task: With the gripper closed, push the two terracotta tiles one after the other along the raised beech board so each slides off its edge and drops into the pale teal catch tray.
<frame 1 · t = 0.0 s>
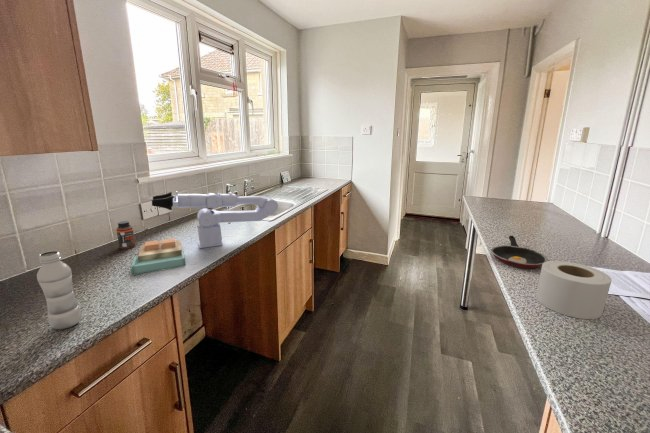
hand: (152, 200, 121), 22 cm above the table, tool horizontal, fingers open, 7 cm apart
frying pan: (514, 255, 124), on the table
board: (161, 253, 125), on the table
tile 2: (168, 243, 127), point 3 cm above the table, touching board
plastic bottle: (67, 325, 79), on the table
tray: (160, 264, 114), on the table
tile 1: (152, 245, 124), point 3 cm above the table, touching board
roll of tape: (566, 304, 89), on the table
supplement bottle: (127, 247, 132), on the table
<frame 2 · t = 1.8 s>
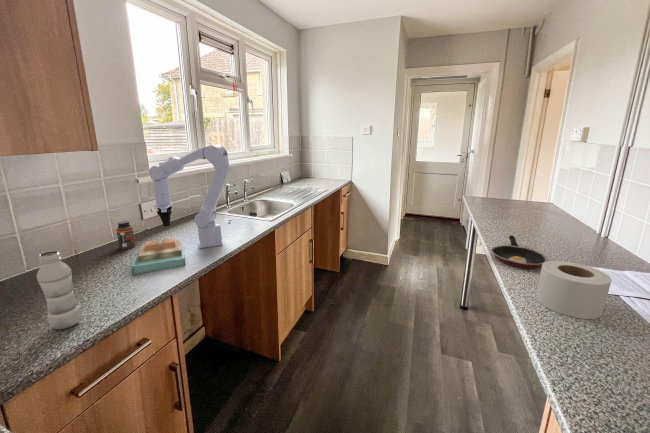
hand: (166, 224, 132), 9 cm above the table, tool pointing down, fingers open, 5 cm apart
nothing on the table moved.
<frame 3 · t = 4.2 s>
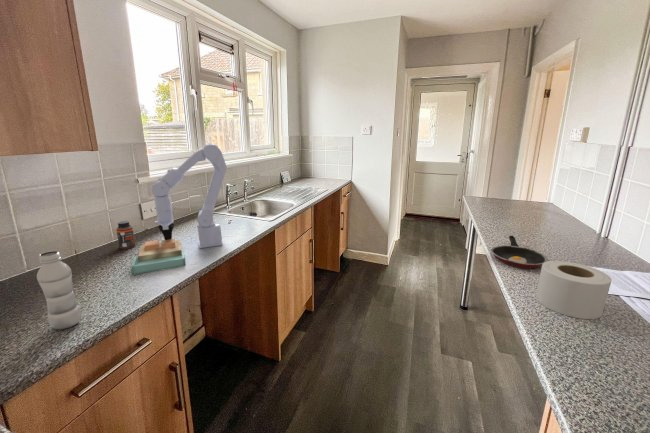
hand: (168, 241, 129), 3 cm above the table, tool pointing down, fingers closed
tile 2: (168, 243, 126), point 3 cm above the table, touching board, gripper
everything else where it was.
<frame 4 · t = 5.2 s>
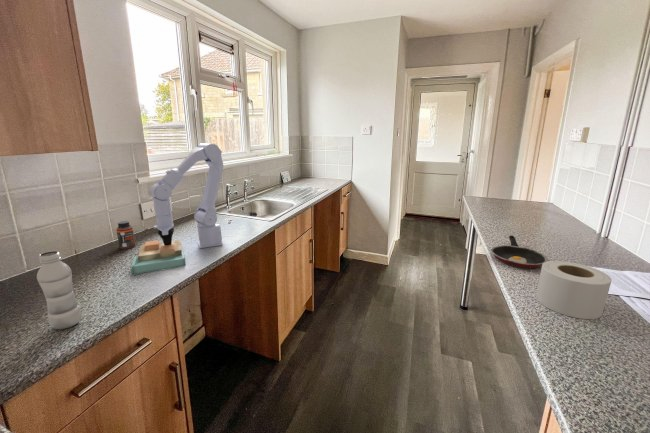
hand: (168, 246, 122), 4 cm above the table, tool pointing down, fingers closed
tile 2: (167, 249, 119), point 3 cm above the table, touching gripper
everything else where it was.
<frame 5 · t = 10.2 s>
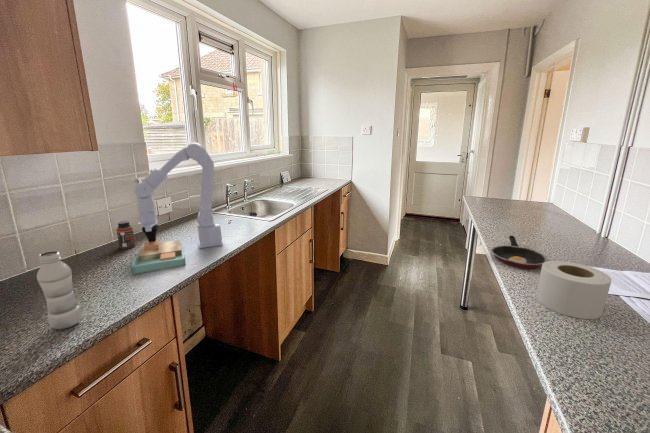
hand: (152, 243, 127), 4 cm above the table, tool pointing down, fingers closed
tile 2: (168, 257, 117), point 1 cm above the table, touching tray
tile 1: (152, 245, 124), point 4 cm above the table, touching board, gripper
everything else where it was.
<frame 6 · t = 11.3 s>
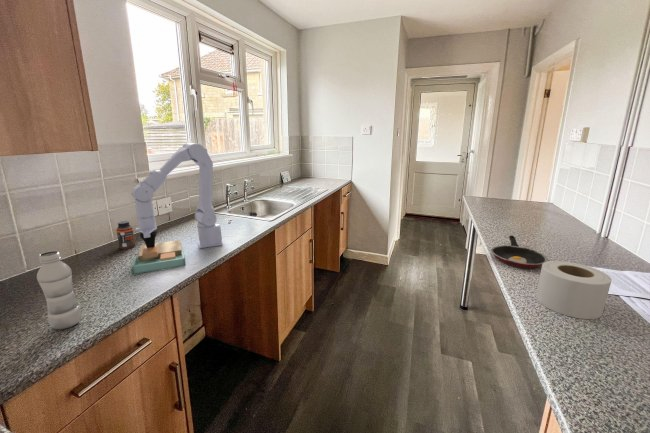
hand: (151, 249, 120), 4 cm above the table, tool pointing down, fingers closed
tile 1: (150, 252, 117), point 4 cm above the table, touching gripper
everything else where it was.
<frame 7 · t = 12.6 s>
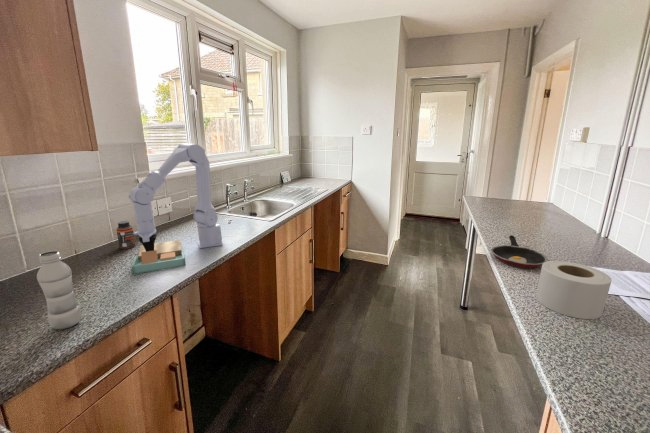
hand: (150, 253, 115), 4 cm above the table, tool pointing down, fingers closed
tile 1: (149, 258, 113), point 3 cm above the table, tilted 44°, touching gripper, tray
everything else where it was.
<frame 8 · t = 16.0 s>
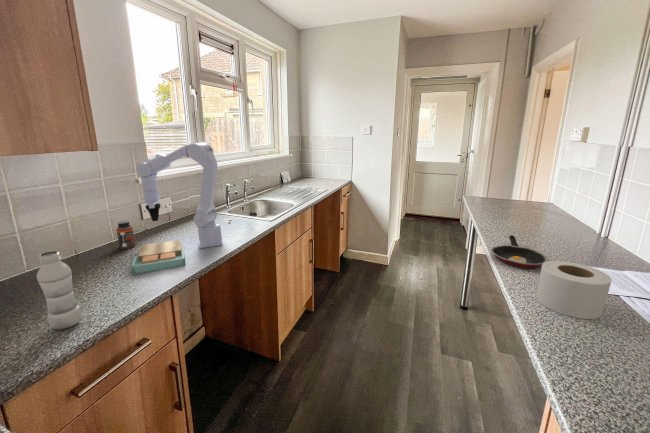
hand: (155, 220, 134), 10 cm above the table, tool pointing down, fingers closed
tile 1: (150, 260, 114), point 1 cm above the table, touching tray
everything else where it was.
at the end: tile 2 inside the target area on the tray (3.5 cm from its centre), point 1.5 cm above the tray's base; tile 1 inside the target area on the tray (3.8 cm from its centre), point 1.5 cm above the tray's base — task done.
